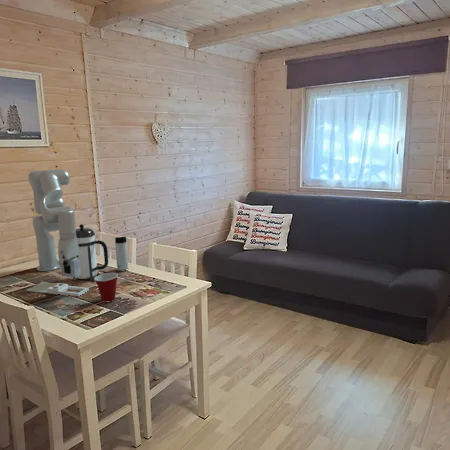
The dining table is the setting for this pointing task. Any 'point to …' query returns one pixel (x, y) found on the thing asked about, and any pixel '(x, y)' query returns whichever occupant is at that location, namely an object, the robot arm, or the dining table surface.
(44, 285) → the sage mat
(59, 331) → the dining table surface
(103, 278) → the plastic cup
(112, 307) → the dining table surface
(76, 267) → the medicine box
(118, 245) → the travel mug
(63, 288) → the power strip dock
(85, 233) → the coffee press
